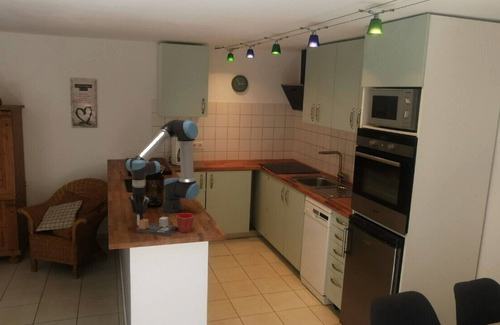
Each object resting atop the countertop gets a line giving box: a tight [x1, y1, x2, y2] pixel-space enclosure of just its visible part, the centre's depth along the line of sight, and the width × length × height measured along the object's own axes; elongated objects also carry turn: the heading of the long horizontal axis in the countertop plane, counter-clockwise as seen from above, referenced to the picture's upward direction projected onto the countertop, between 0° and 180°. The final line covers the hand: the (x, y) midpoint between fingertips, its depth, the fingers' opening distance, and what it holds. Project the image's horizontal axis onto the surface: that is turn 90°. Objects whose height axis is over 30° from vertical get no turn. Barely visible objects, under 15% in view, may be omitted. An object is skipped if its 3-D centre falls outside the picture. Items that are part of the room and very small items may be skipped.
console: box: [135, 222, 179, 237], centre depth 254 cm, size 12×22×2 cm, turn 72°
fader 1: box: [138, 218, 149, 229], centre depth 252 cm, size 4×4×5 cm
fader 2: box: [158, 216, 169, 227], centre depth 256 cm, size 4×4×5 cm
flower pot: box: [175, 212, 195, 233], centre depth 255 cm, size 11×11×10 cm
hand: (139, 224), depth 253 cm, fingers closed
